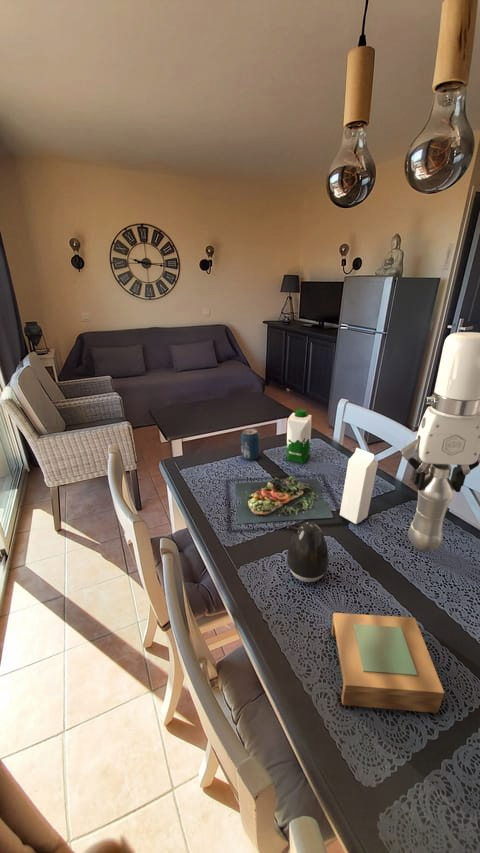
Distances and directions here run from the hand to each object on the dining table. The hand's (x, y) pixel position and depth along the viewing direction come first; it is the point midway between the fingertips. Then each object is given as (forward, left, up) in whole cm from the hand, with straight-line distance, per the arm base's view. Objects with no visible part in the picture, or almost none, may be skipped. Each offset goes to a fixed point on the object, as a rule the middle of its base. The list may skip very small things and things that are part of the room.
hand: (436, 486), depth 72 cm
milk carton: (+23, -64, -30) cm, 74 cm away
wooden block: (+12, +18, -30) cm, 37 cm away
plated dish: (+30, -35, -30) cm, 55 cm away
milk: (+8, -28, -30) cm, 41 cm away
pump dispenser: (+24, -5, -30) cm, 39 cm away
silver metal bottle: (0, 0, -15) cm, 15 cm away
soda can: (+42, -64, -30) cm, 82 cm away
